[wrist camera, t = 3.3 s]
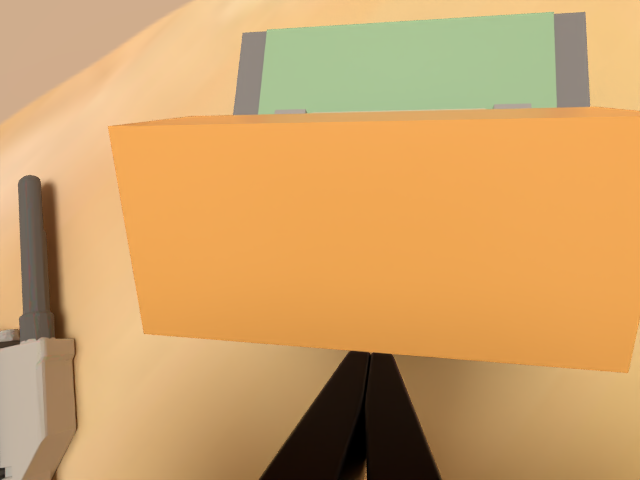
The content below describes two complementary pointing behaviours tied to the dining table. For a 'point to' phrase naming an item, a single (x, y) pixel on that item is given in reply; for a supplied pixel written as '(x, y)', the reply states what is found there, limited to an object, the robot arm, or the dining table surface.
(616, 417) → the dining table surface
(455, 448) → the dining table surface
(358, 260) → the breaker lever
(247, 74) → the breaker housing
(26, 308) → the walkie-talkie
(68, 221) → the dining table surface
